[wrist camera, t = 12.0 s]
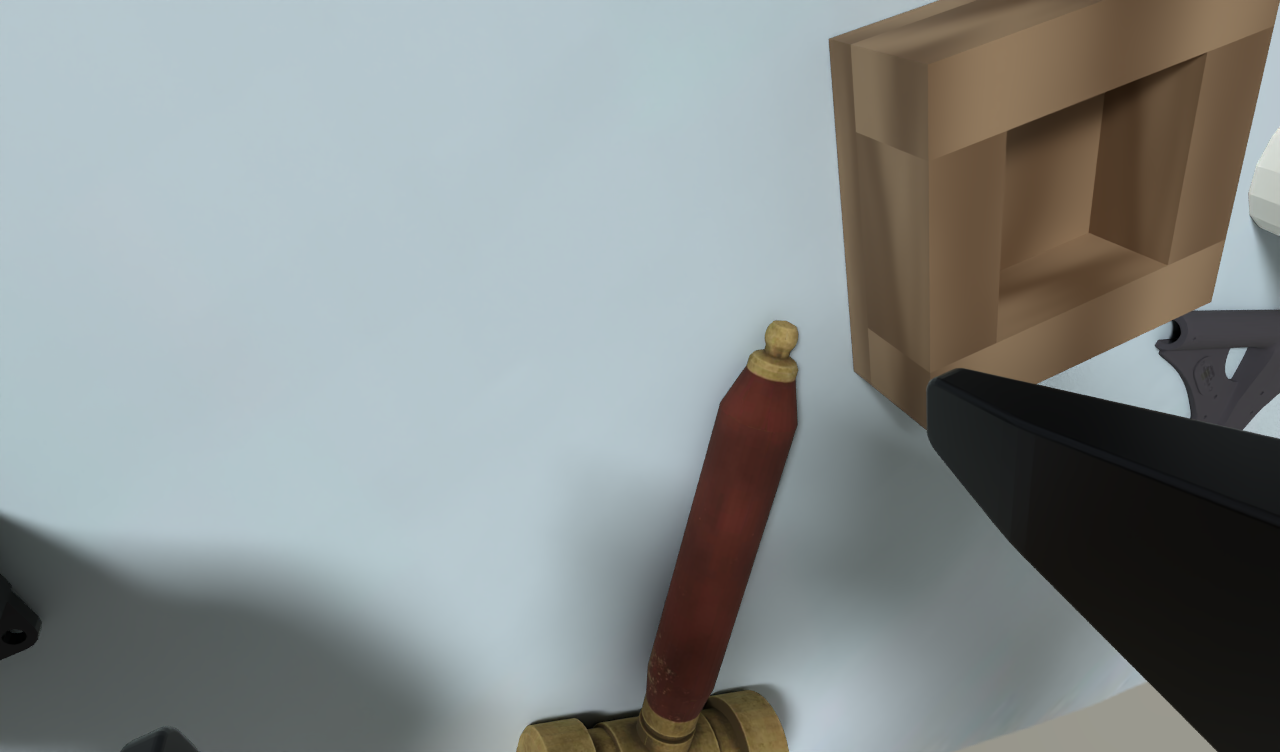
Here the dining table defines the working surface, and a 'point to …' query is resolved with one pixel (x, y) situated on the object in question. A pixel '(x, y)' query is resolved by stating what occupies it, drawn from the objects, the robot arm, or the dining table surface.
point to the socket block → (1036, 177)
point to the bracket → (1200, 357)
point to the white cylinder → (1267, 188)
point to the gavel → (710, 582)
